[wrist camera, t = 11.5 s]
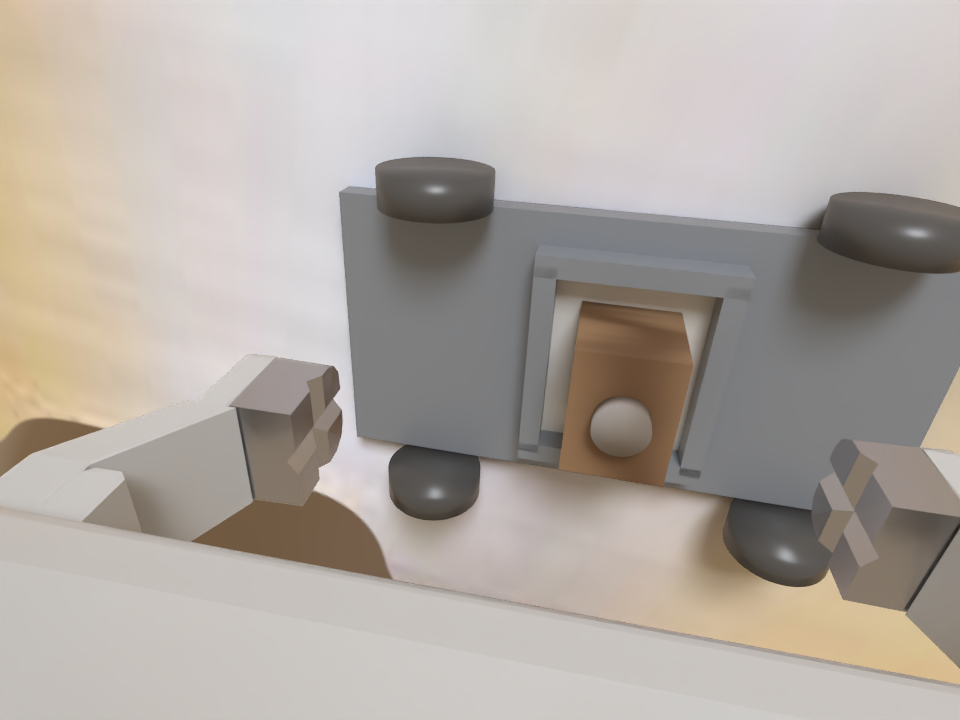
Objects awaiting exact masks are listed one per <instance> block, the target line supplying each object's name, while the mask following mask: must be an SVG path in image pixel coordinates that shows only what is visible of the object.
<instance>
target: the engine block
mask: <svg viewBox="0 0 960 720" xmlns="http://www.w3.org/2000/svg"><path fill="white" fill-rule="evenodd" d="M693 366H694V365H693V360H692V356H691V351H690V346H689V342H688V337H687V333H686V328H685V323H684V319H683V314H682V313H680V312H672V311H663V310H655V309H647V308H638V307H630V306H622V305H614V304H605V303H597V302H589V301H582V305H581V312H580V319H579V325H578V332H577V339H576V346H575V353H574V360H573V367H572V374H571V382H570V389H569V396H568V403H567V411H566V418H565V425H564V432H563V440H562V447H561V454H560V461H559V469H558V470H564V471H570V472H576V473H582V474H588V475H594V476H600V477H606V478H612V479H618V480H624V481H630V482H636V483H642V484H649V485H655V486H661V487H663V485H664V481H665V477H666V473H667V469H668V465H669V462H670V458H671V454H672V450H673V446H674V442H675V438H676V434H677V430H678V426H679V422H680V418H681V414H682V410H683V406H684V402H685V398H686V394H687V390H688V386H689V382H690V378H691V374H692V370H693Z"/></svg>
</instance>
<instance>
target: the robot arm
mask: <svg viewBox="0 0 960 720" xmlns="http://www.w3.org/2000/svg"><path fill="white" fill-rule="evenodd" d="M339 389H340V384H339V375H338V371H337V370H336V369H335V367H334V366H329V365H323V364H317V363H310V362H304V361H298V360H292V359H286V358H278V357H274V356H266V355H258V354H249V355H246V356H245V357H244V358H243V359H242V360H241V361H240V362H238V363H237V364H236V365H235V366H234V367H233V368H232V369H231V370H230V371H229V372H228V373H227V374H226V375H224V376H223V377H222V378H221V379H220V380H219V381H218V382H217V383H216V384H215V385H214V386H213V387H212V388H210V389H209V390H208V391H207V392H206V393H205V394H204V395H203V396H202V397H201V398H200V399H199V400H198V401H189V400H187V401H184V402H181V403H178V404H175V405H172V406H170V407H167V408H164V409H161V410H158V411H155V412H152V413H149V414H146V415H143V416H140V417H137V418H135V419H132V420H129V421H126V422H123V423H120V424H117V425H114V426H111V427H108V428H105V429H102V430H100V431H97V432H94V433H91V434H88V435H85V436H82V437H79V438H76V439H73V440H70V441H67V442H64V443H62V444H59V445H56V446H53V447H50V448H47V449H44V450H41V451H38V452H35V453H32V454H30V455H29V456H28V457H27V458H25V459H24V460H23V461H21V462H20V463H19V464H17V465H16V466H14V467H13V468H12V469H11V470H9V471H8V472H7V473H5V474H4V475H3V476H1V477H0V720H960V685H959V684H954V683H948V682H943V681H938V680H932V679H927V678H921V677H916V676H911V675H905V674H900V673H895V672H889V671H884V670H878V669H873V668H868V667H862V666H857V665H852V664H846V663H841V662H835V661H830V660H825V659H819V658H814V657H809V656H803V655H798V654H792V653H787V652H782V651H776V650H771V649H766V648H760V647H755V646H750V645H744V644H739V643H733V642H728V641H723V640H717V639H712V638H707V637H701V636H696V635H690V634H685V633H680V632H674V631H669V630H664V629H658V628H653V627H647V626H642V625H636V624H631V623H625V622H620V621H615V620H609V619H604V618H598V617H593V616H587V615H582V614H576V613H571V612H566V611H560V610H555V609H549V608H544V607H538V606H533V605H527V604H522V603H516V602H511V601H506V600H500V599H495V598H489V597H484V596H478V595H473V594H467V593H462V592H457V591H451V590H446V589H441V588H435V587H430V586H424V585H419V584H414V583H408V582H403V581H397V580H392V579H386V578H381V577H376V576H370V575H365V574H360V573H354V572H349V571H343V570H338V569H333V568H327V567H322V566H316V565H310V564H306V563H300V562H295V561H290V560H284V559H279V558H273V557H268V556H263V555H257V554H252V553H247V552H241V551H235V550H230V549H225V548H219V547H214V546H209V545H203V544H197V543H193V542H191V541H192V540H194V539H195V538H197V537H199V536H200V535H202V534H203V533H205V532H206V531H208V530H210V529H211V528H213V527H214V526H216V525H217V524H219V523H221V522H222V521H224V520H225V519H227V518H228V517H230V516H232V515H233V514H235V513H236V512H238V511H239V510H241V509H242V508H244V507H246V506H247V505H249V504H250V503H252V502H253V499H255V500H262V501H269V502H276V503H283V504H291V505H297V506H303V505H304V503H305V502H306V500H307V498H308V497H309V495H310V493H311V492H312V490H313V489H314V487H315V486H316V484H317V482H318V481H319V469H318V468H319V467H321V466H323V465H325V464H327V463H329V462H330V461H331V460H332V458H333V456H334V454H335V453H336V451H337V448H338V445H339V441H340V438H341V434H342V410H341V408H340V407H339V406H338V405H337V403H336V402H335V401H334V399H333V398H334V397H335V395H336V394H337V392H338V391H339ZM829 460H830V462H831V465H832V467H833V469H834V471H835V472H834V473H832V474H831V475H829V476H827V477H826V478H824V479H823V480H821V481H819V484H818V486H817V489H816V491H815V494H814V496H813V502H812V513H811V517H812V523H813V529H814V531H815V534H816V536H817V539H818V541H819V542H820V543H822V544H823V545H824V546H825V547H826V548H827V549H829V550H830V551H831V552H832V555H831V558H830V560H829V562H828V565H829V568H830V570H831V573H832V575H833V577H834V580H835V582H836V584H837V587H838V589H839V591H840V594H841V596H842V599H843V600H848V601H853V602H858V603H863V604H868V605H873V606H878V607H883V608H888V609H893V610H898V611H903V612H907V613H906V614H905V615H906V616H907V617H908V618H909V619H910V620H911V621H912V622H913V623H914V624H915V625H916V626H917V627H918V628H919V629H920V630H921V631H922V632H923V633H924V634H925V635H926V636H927V637H928V638H929V639H930V640H931V641H932V642H933V643H934V644H935V645H937V646H938V647H939V648H940V649H941V650H942V651H943V652H944V653H945V654H946V655H947V656H948V657H949V658H950V659H951V660H952V661H953V662H954V663H955V664H956V665H957V666H958V667H959V668H960V455H958V454H956V453H954V452H952V451H949V450H939V449H930V448H921V447H909V446H900V445H892V444H883V443H875V442H867V441H858V440H850V439H842V440H841V441H840V442H839V443H838V444H837V445H836V446H835V448H834V450H833V452H832V454H831V456H830V459H829Z"/></svg>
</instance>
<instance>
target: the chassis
mask: <svg viewBox="0 0 960 720" xmlns="http://www.w3.org/2000/svg"><path fill="white" fill-rule="evenodd" d="M375 175H376V189H372V188H361V187H350V186H349V187H347V188H345V189H344V190H342V191H340V192H339V197H340V211H341V224H342V238H343V251H344V265H345V278H346V292H347V305H348V318H349V332H350V345H351V359H352V372H353V386H354V399H355V413H356V426H357V436H358V437H364V438H370V439H377V440H383V441H389V442H395V443H401V444H407V445H405V446H403V447H402V448H400V449H399V450H398V451H396V453H395V454H394V455H393V456H392V458H391V460H390V462H389V490H390V497H391V499H392V501H393V503H394V504H395V506H396V507H397V508H398V509H400V510H401V511H402V512H404V513H405V514H407V515H409V516H412V517H415V518H418V519H423V520H443V519H448V518H452V517H455V516H458V515H460V514H462V513H464V512H465V511H467V510H468V509H469V508H470V507H471V506H472V505H473V504H474V503H475V501H476V500H477V497H478V494H479V483H480V462H479V459H478V457H477V456H481V457H487V458H493V459H500V460H506V461H512V462H518V463H524V464H530V465H536V466H543V467H549V468H555V469H559V461H560V454H561V447H562V440H563V432H564V425H565V418H566V411H567V403H568V396H569V389H570V382H571V374H572V367H573V360H574V353H575V346H576V339H577V332H578V325H579V319H580V312H581V305H582V301H589V302H597V303H605V304H614V305H622V306H630V307H638V308H647V309H655V310H663V311H672V312H680V313H682V314H683V319H684V323H685V328H686V333H687V337H688V342H689V346H690V351H691V356H692V360H693V365H694V366H693V370H692V374H691V378H690V382H689V386H688V390H687V394H686V398H685V402H684V406H683V410H682V414H681V418H680V422H679V426H678V430H677V434H676V438H675V442H674V446H673V450H672V454H671V458H670V462H669V465H668V469H667V473H666V477H665V481H664V485H663V486H666V487H672V488H678V489H684V490H690V491H696V492H703V493H709V494H715V495H721V496H727V497H733V498H735V499H734V500H733V502H732V503H731V506H730V510H729V513H728V516H727V519H726V522H725V525H724V528H723V539H724V543H725V545H726V547H727V549H728V550H729V552H730V553H731V555H732V556H733V557H734V558H735V559H736V560H737V561H738V562H739V563H740V564H741V565H742V566H743V567H745V568H746V569H748V570H749V571H750V572H752V573H754V574H755V575H757V576H759V577H761V578H763V579H765V580H768V581H770V582H773V583H776V584H780V585H785V586H791V587H805V586H810V585H814V584H816V583H818V582H820V581H821V580H822V579H823V578H824V577H825V576H826V574H827V572H828V570H829V565H828V562H829V560H830V558H831V555H832V552H831V551H830V550H829V549H827V548H826V547H825V546H824V545H823V544H822V543H820V542H819V541H818V539H817V536H816V534H815V531H814V529H813V523H812V517H811V513H812V502H813V496H814V494H815V491H816V489H817V486H818V484H819V481H821V480H823V479H824V478H826V477H827V476H829V475H831V474H832V473H834V472H835V471H834V469H833V467H832V465H831V462H830V460H829V459H830V456H831V454H832V452H833V450H834V448H835V446H836V445H837V444H838V443H839V442H840V441H841V440H842V439H850V440H858V441H867V442H875V443H883V444H892V445H900V446H909V447H920V446H921V444H922V442H923V440H924V438H925V435H926V433H927V431H928V429H929V427H930V425H931V423H932V421H933V419H934V417H935V415H936V413H937V411H938V409H939V407H940V405H941V403H942V401H943V399H944V397H945V395H946V393H947V391H948V389H949V387H950V385H951V383H952V381H953V379H954V377H955V375H956V373H957V371H958V369H959V367H960V207H957V206H953V205H949V204H945V203H941V202H936V201H931V200H926V199H921V198H915V197H909V196H901V195H893V194H884V193H870V192H847V193H839V194H835V195H832V196H831V197H830V200H829V203H828V206H827V210H826V213H825V216H824V219H823V222H822V225H821V228H820V230H817V229H806V228H795V227H785V226H774V225H763V224H752V223H741V222H730V221H719V220H709V219H698V218H687V217H676V216H665V215H654V214H643V213H633V212H622V211H611V210H600V209H589V208H578V207H568V206H557V205H546V204H535V203H524V202H513V201H502V200H494V188H495V169H494V168H492V167H491V166H489V165H486V164H483V163H480V162H475V161H470V160H464V159H456V158H443V157H413V158H401V159H394V160H389V161H385V162H382V163H380V164H378V165H377V166H376V167H375Z"/></svg>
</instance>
